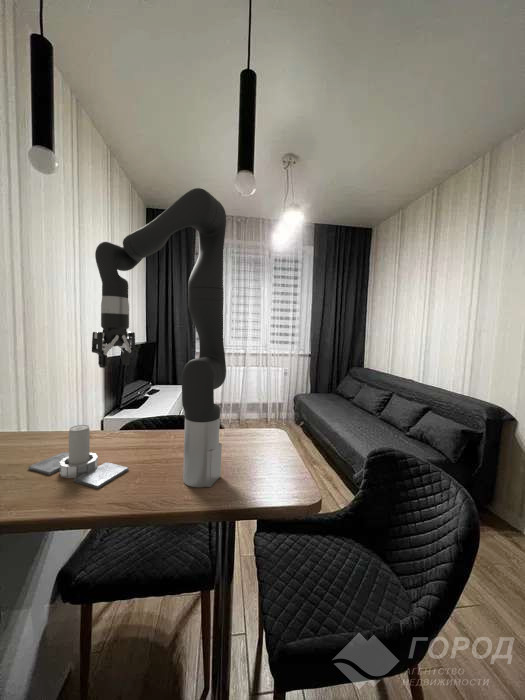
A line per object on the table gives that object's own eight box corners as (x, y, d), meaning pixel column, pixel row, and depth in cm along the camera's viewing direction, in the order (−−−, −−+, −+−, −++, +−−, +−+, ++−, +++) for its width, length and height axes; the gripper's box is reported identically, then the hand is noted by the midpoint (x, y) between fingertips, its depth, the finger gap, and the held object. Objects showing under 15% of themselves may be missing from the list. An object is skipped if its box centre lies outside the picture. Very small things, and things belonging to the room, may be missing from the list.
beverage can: (64, 471, 77) (64, 428, 76) (83, 464, 81) (83, 423, 80) (75, 476, 74) (75, 432, 74) (93, 468, 79) (93, 427, 78)
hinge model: (128, 470, 79) (128, 459, 78) (97, 488, 69) (97, 477, 69) (64, 454, 86) (64, 444, 86) (28, 469, 77) (28, 458, 76)
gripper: (105, 311, 76) (105, 370, 77) (142, 314, 90) (141, 364, 91) (84, 310, 78) (84, 367, 79) (123, 314, 92) (122, 362, 93)
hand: (115, 366), depth 85 cm, fingers open, 8 cm apart
